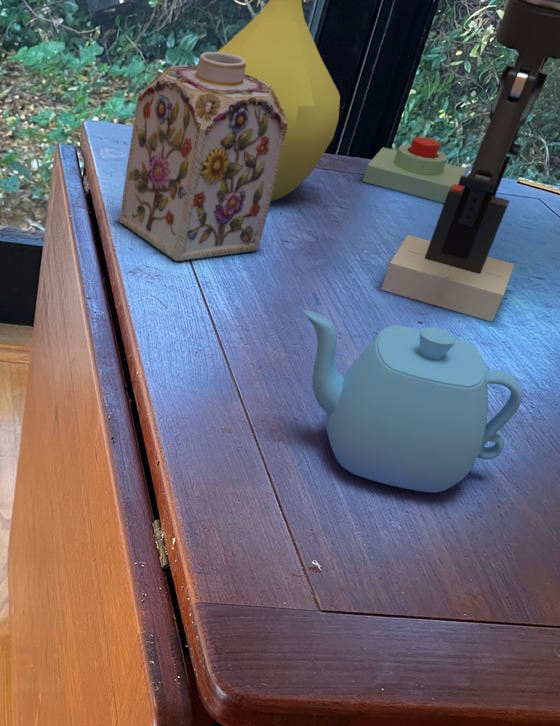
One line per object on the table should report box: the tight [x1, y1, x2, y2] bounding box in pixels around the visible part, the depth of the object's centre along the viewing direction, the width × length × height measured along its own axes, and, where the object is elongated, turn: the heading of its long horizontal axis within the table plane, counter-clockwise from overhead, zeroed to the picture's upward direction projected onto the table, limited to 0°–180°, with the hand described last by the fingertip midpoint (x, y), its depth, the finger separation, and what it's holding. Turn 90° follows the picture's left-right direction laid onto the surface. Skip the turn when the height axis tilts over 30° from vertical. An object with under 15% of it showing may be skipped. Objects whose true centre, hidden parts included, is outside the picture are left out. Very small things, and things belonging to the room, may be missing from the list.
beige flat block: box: [380, 234, 516, 323], centre depth 108 cm, size 12×10×3 cm
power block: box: [362, 143, 468, 204], centre depth 134 cm, size 12×10×4 cm
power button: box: [409, 136, 441, 158], centre depth 133 cm, size 4×4×2 cm
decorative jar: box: [119, 51, 288, 262], centre depth 105 cm, size 12×12×18 cm
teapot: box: [302, 309, 523, 493], centre depth 78 cm, size 13×11×18 cm
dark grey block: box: [425, 184, 510, 273], centre depth 104 cm, size 6×2×7 cm, turn 65°
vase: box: [217, 0, 341, 202], centre depth 116 cm, size 18×18×30 cm
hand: (464, 235), depth 105 cm, fingers open, 13 cm apart
